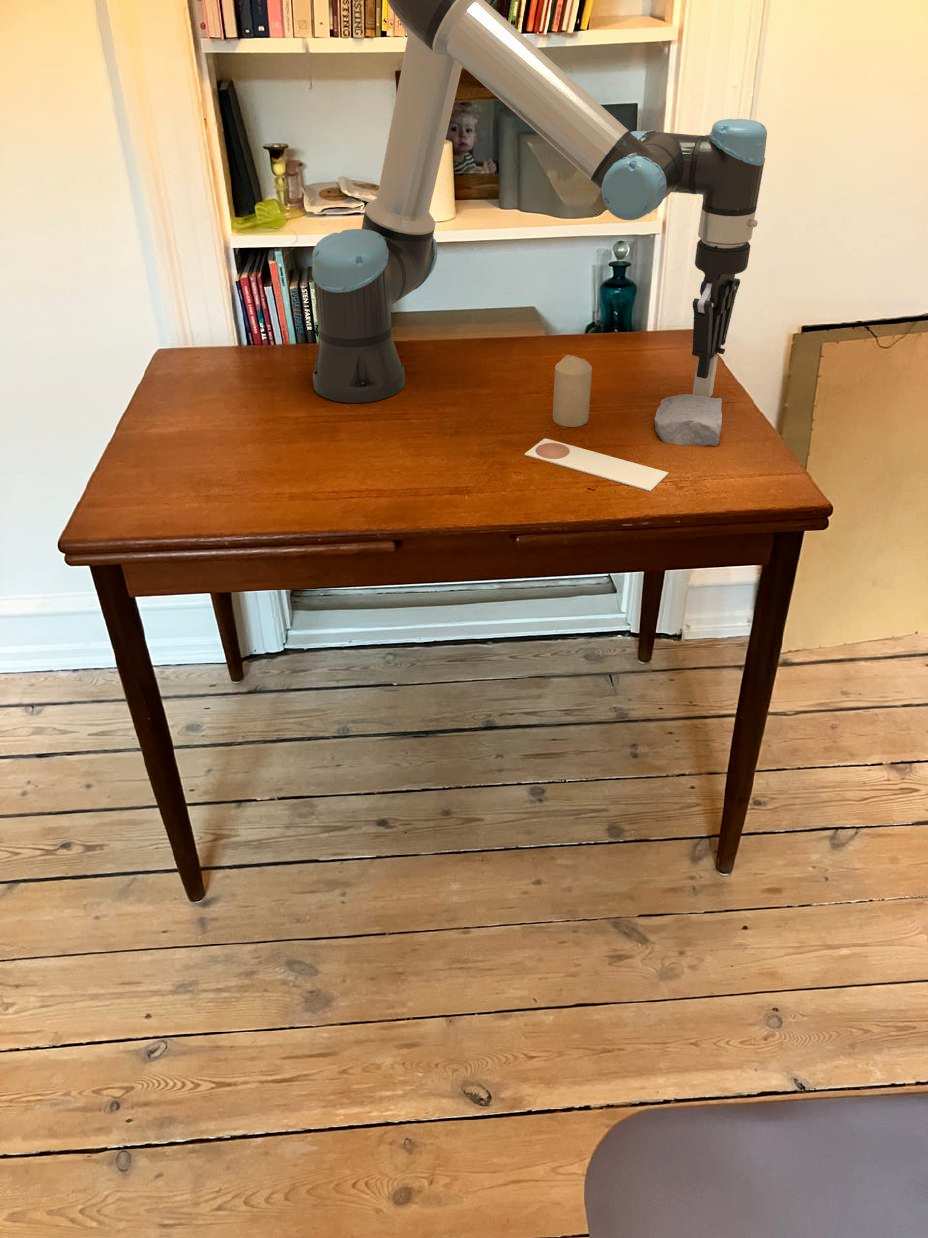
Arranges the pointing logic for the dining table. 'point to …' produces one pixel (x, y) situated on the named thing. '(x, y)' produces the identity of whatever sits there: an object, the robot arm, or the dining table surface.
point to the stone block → (689, 420)
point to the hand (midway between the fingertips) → (702, 393)
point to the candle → (572, 391)
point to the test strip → (597, 464)
